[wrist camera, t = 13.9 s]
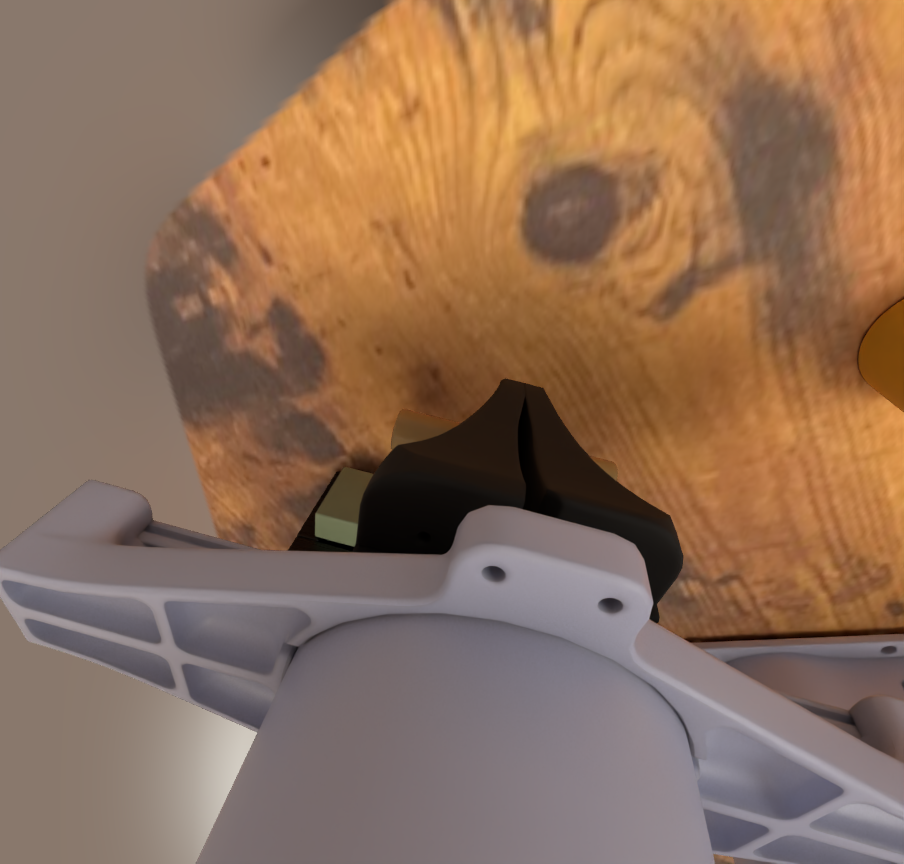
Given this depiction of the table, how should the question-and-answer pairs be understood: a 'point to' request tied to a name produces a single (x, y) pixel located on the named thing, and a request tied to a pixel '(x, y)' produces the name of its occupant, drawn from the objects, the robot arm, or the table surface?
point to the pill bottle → (885, 355)
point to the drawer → (346, 493)
